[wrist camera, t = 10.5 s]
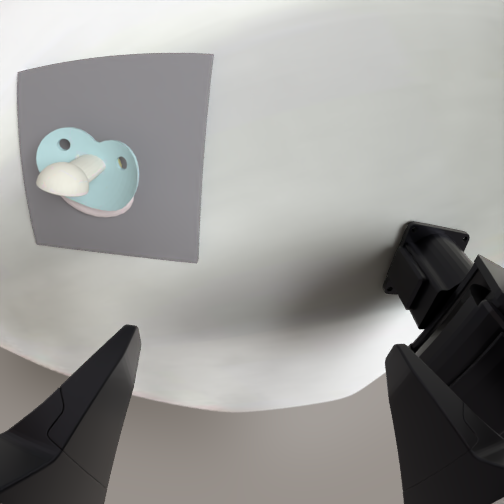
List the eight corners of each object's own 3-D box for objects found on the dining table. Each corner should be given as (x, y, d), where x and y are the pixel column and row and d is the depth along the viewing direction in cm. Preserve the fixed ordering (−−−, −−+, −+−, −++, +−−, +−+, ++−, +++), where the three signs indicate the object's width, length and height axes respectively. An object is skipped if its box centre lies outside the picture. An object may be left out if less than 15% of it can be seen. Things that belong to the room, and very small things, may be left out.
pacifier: (135, 225, 20) (157, 145, 17) (101, 283, 15) (115, 184, 12) (50, 194, 19) (60, 116, 16) (1, 240, 14) (-2, 145, 11)
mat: (213, 54, 15) (212, 53, 14) (198, 258, 22) (197, 263, 22) (22, 71, 14) (17, 72, 13) (40, 240, 21) (36, 244, 21)
